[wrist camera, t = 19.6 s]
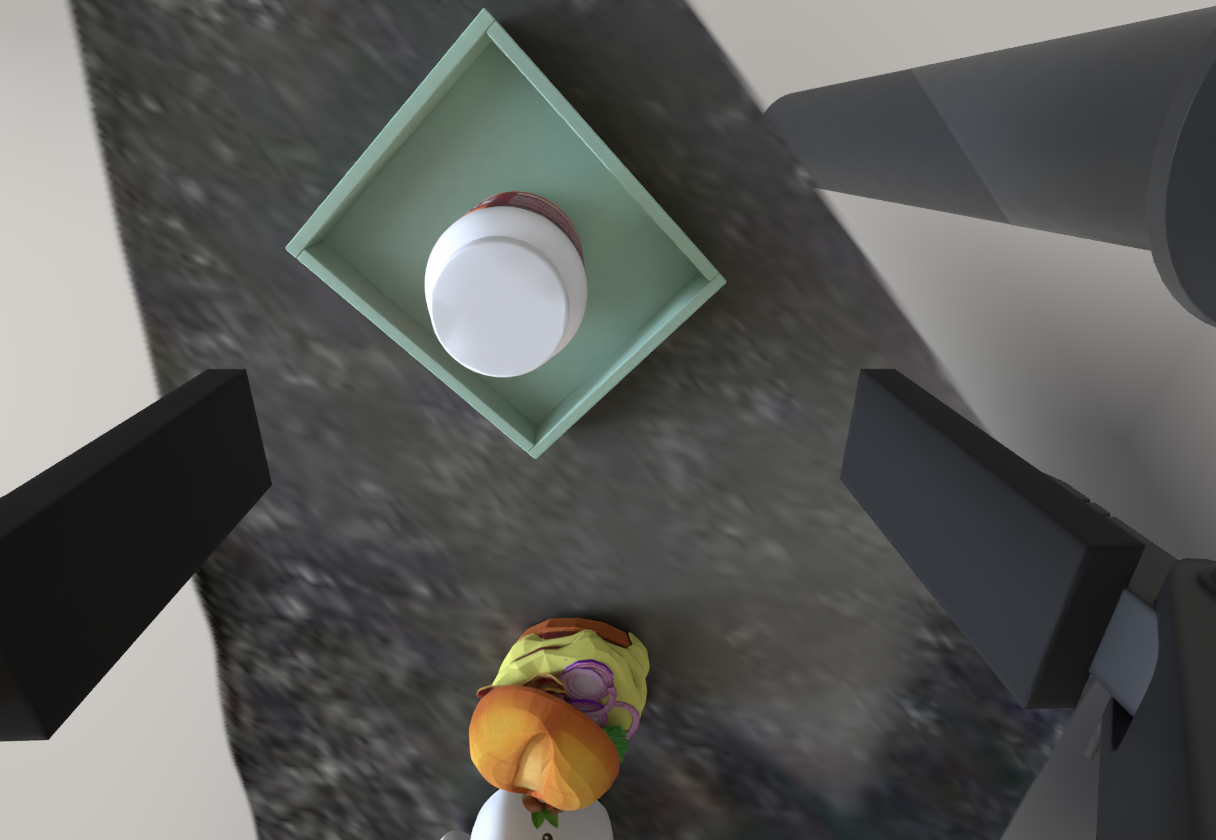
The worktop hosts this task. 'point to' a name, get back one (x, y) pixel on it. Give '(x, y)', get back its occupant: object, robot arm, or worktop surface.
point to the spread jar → (535, 820)
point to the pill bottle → (507, 284)
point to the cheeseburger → (561, 712)
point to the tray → (475, 170)
